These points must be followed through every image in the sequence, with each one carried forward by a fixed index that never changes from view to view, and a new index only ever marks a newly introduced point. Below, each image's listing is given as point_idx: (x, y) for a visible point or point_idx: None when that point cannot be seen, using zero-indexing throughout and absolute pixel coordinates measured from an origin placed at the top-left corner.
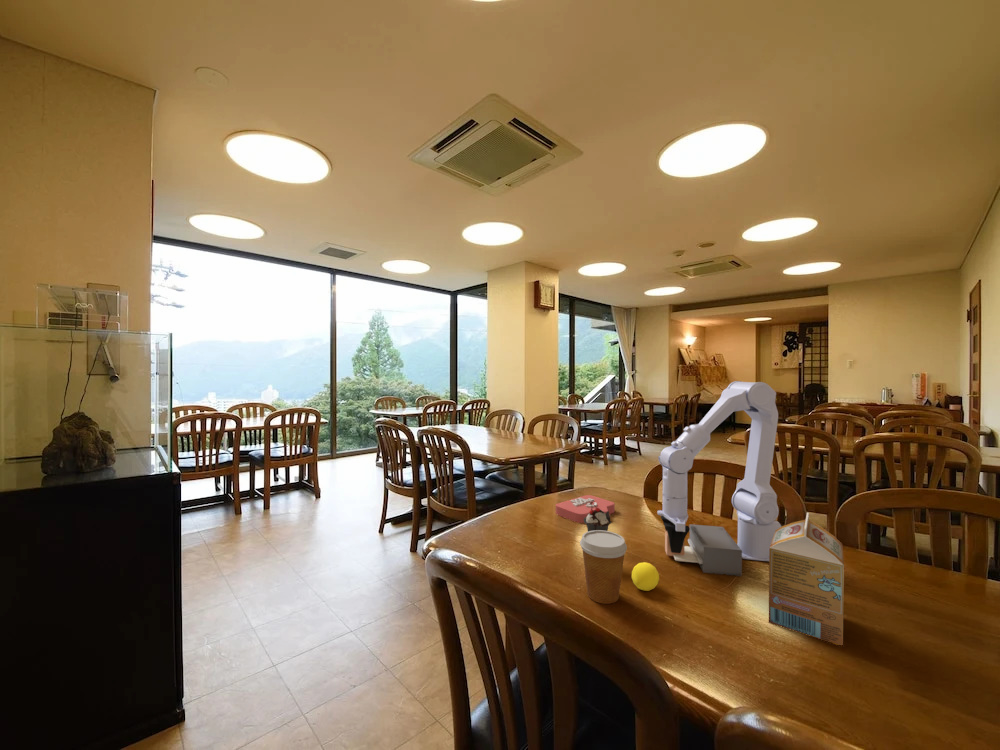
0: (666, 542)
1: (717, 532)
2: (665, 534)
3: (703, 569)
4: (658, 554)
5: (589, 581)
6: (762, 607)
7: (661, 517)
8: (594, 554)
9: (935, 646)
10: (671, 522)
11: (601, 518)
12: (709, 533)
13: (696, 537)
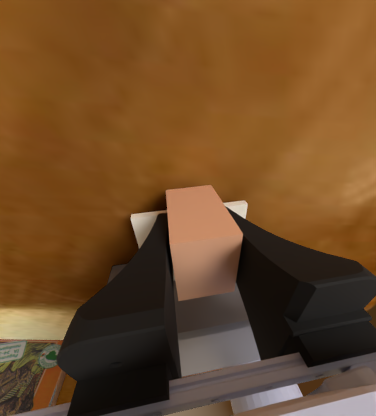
0: (185, 212)
1: (240, 353)
2: (222, 225)
3: (111, 272)
4: (192, 157)
5: None
6: (13, 332)
7: (340, 283)
8: None
9: (58, 401)
10: (269, 308)
11: None
12: (229, 345)
13: (200, 318)
